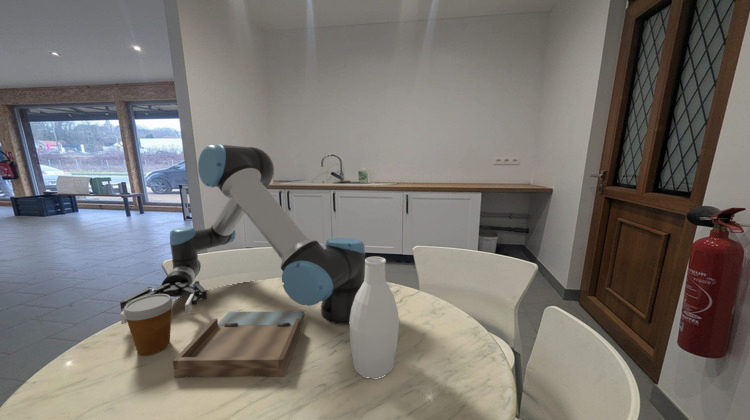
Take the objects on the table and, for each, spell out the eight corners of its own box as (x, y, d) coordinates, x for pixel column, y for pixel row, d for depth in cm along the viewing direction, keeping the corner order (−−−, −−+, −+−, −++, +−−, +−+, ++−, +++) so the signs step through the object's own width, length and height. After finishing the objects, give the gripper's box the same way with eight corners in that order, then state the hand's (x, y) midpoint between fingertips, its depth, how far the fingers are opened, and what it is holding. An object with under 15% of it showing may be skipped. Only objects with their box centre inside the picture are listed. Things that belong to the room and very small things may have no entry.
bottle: (407, 370, 62) (412, 262, 58) (365, 392, 56) (367, 273, 52) (379, 343, 71) (381, 248, 67) (340, 360, 65) (340, 256, 61)
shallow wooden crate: (306, 317, 82) (305, 305, 82) (283, 376, 60) (283, 359, 59) (227, 317, 82) (226, 305, 81) (174, 377, 59) (172, 360, 58)
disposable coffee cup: (151, 363, 63) (144, 314, 61) (117, 357, 65) (110, 309, 63) (187, 338, 72) (182, 295, 70) (156, 333, 74) (151, 291, 72)
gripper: (222, 286, 96) (212, 318, 77) (132, 298, 87) (95, 337, 67) (221, 266, 95) (210, 292, 75) (129, 275, 86) (90, 308, 66)
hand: (156, 313), depth 71 cm, fingers open, 13 cm apart
